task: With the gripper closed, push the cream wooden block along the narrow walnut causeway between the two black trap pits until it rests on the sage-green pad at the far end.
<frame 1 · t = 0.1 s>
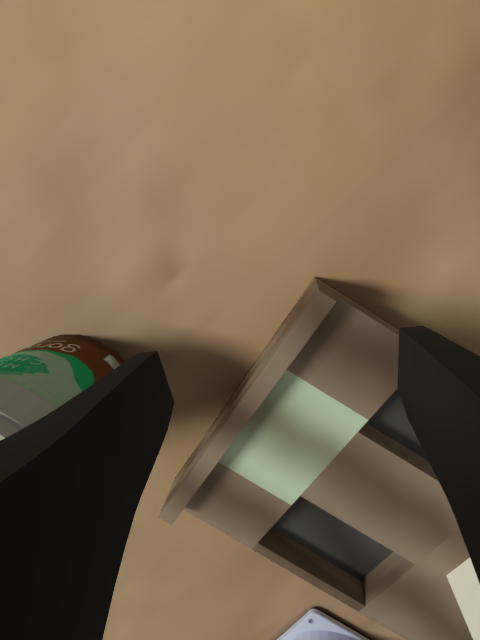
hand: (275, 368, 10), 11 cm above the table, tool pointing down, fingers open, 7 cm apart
trap deck: (392, 485, 23), on the table
food container: (67, 359, 24), on the table
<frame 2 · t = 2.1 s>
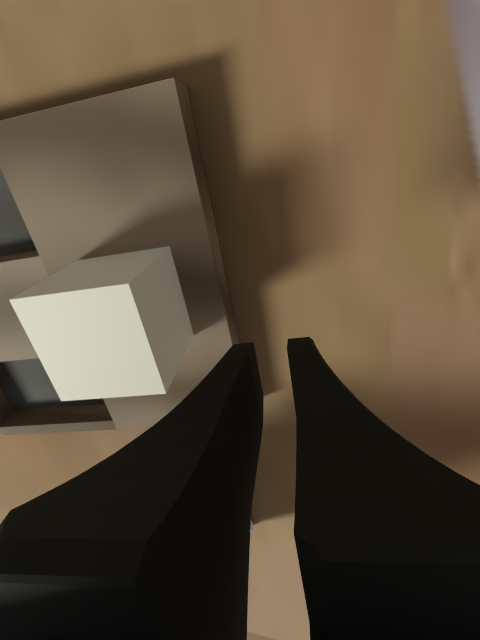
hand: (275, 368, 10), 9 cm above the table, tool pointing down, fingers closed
trap deck: (31, 300, 22), on the table
block: (137, 298, 18), point 2 cm above the table, touching trap deck
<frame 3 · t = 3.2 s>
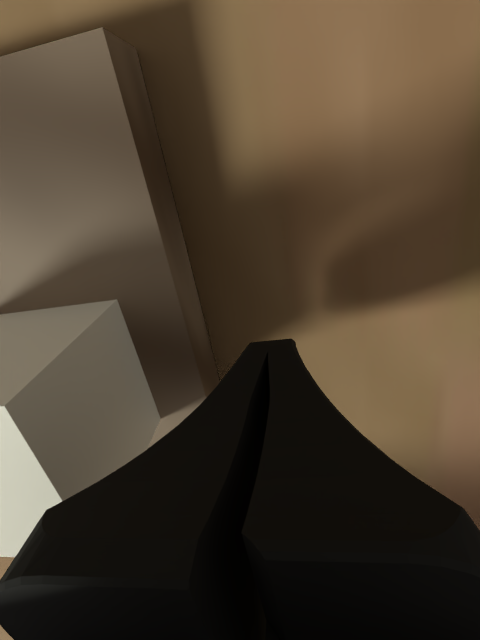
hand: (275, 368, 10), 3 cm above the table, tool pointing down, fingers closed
block: (77, 370, 13), point 2 cm above the table, touching trap deck
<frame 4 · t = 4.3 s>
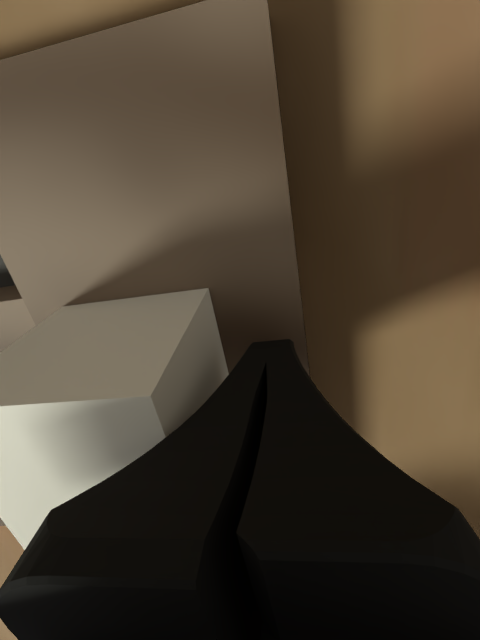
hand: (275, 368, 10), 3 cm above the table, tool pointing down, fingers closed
trap deck: (15, 352, 15), on the table
block: (154, 363, 12), point 2 cm above the table, touching gripper
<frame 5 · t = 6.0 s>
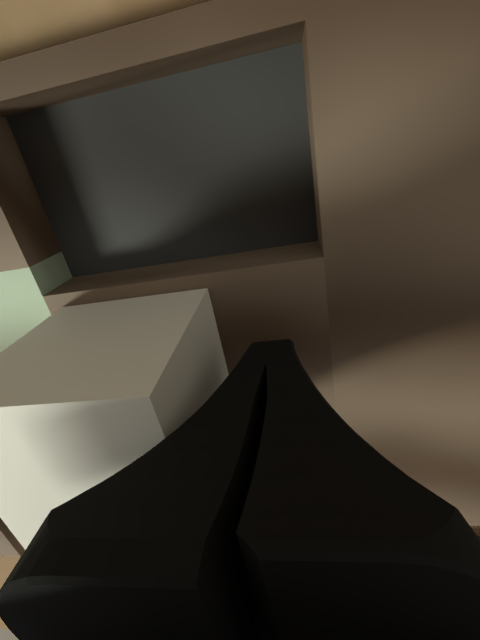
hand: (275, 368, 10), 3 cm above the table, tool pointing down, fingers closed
trap deck: (231, 329, 13), on the table
block: (154, 363, 12), point 2 cm above the table, touching gripper
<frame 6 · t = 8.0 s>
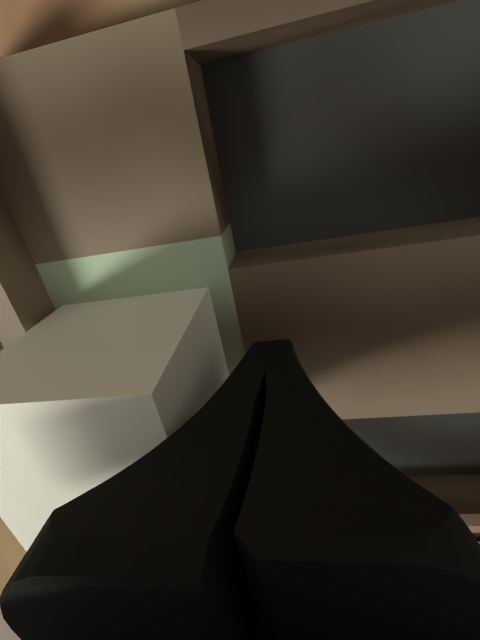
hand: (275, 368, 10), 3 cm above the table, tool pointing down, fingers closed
trap deck: (403, 310, 12), on the table
block: (154, 362, 12), point 2 cm above the table, touching gripper, trap deck
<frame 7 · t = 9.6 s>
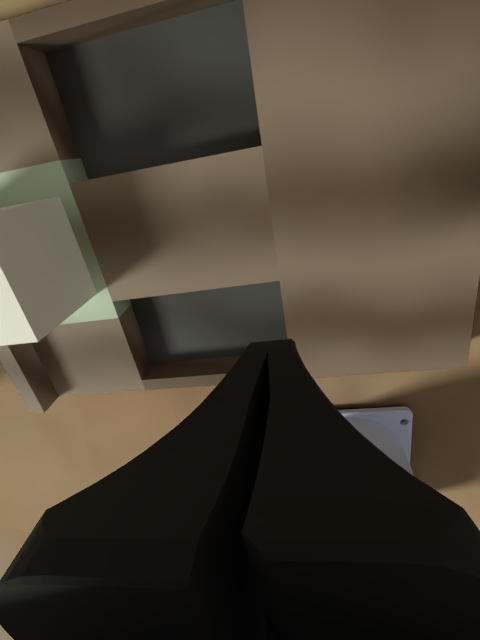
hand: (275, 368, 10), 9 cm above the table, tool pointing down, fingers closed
trap deck: (206, 221, 18), on the table
block: (36, 254, 18), point 2 cm above the table, touching trap deck
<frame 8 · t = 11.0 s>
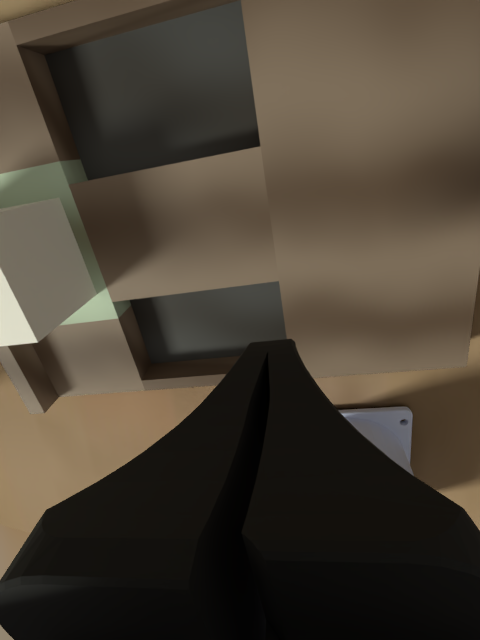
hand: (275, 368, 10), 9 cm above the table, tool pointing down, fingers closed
trap deck: (205, 222, 18), on the table
block: (36, 255, 18), point 2 cm above the table, touching trap deck
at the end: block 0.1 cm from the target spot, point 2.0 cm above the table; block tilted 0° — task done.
